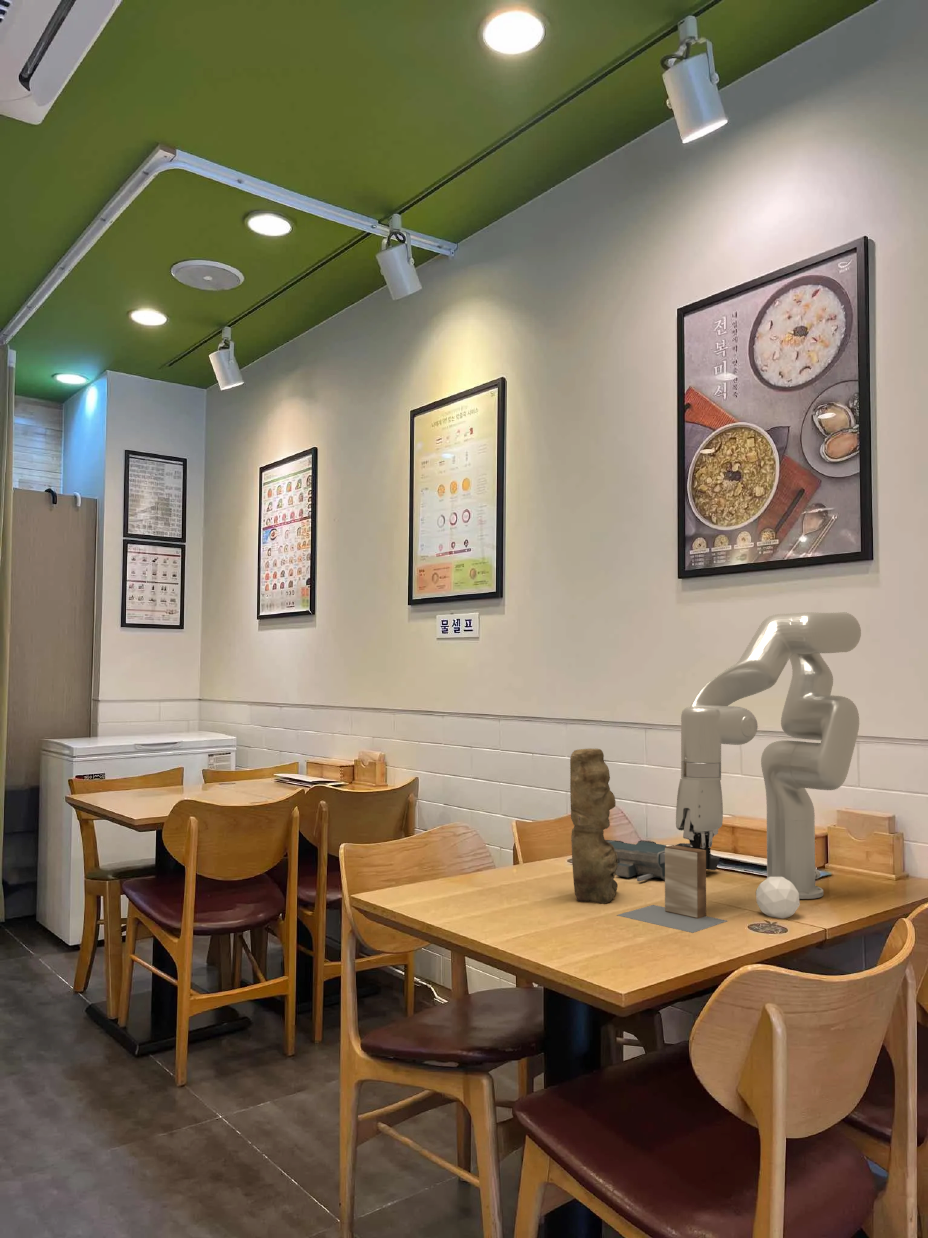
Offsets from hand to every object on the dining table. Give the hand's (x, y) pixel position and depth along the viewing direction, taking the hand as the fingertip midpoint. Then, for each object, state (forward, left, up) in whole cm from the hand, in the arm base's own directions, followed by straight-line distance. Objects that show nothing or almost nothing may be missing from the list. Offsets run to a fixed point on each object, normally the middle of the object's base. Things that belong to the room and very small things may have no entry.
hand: (700, 868), depth 176 cm
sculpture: (+7, -20, -9) cm, 23 cm away
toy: (-27, -29, -9) cm, 40 cm away
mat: (+10, 0, -8) cm, 13 cm away
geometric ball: (-7, +12, -9) cm, 16 cm away
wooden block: (+6, 0, -8) cm, 10 cm away
